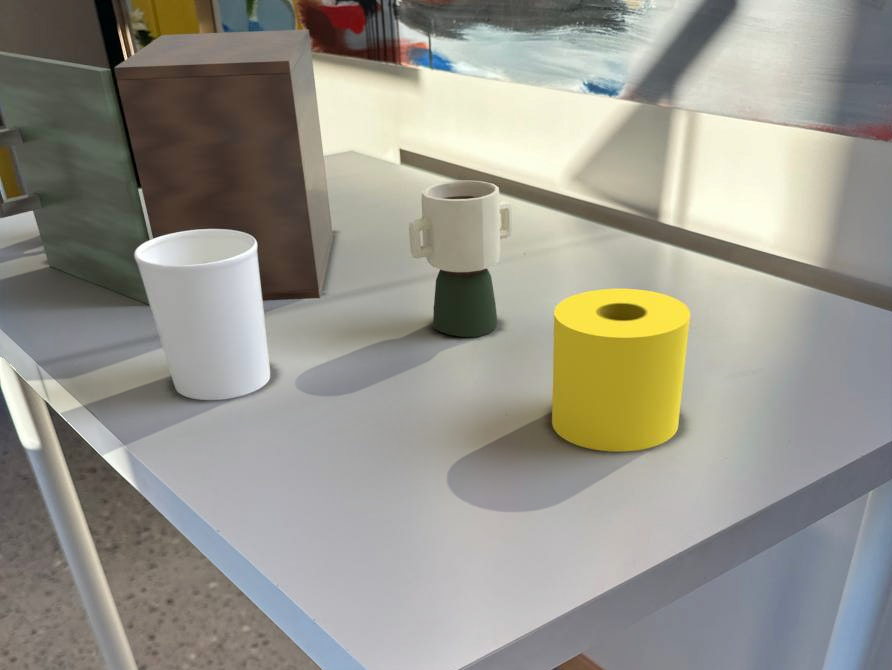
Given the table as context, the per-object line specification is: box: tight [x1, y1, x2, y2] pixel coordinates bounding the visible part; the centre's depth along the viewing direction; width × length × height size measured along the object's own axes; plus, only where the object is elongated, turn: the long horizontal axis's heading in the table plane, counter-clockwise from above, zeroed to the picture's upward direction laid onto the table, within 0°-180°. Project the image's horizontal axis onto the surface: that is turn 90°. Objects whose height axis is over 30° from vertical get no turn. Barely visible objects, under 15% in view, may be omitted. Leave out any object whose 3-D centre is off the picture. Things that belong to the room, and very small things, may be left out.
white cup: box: [134, 229, 271, 401], centre depth 82 cm, size 10×10×12 cm
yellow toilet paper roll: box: [551, 288, 691, 453], centre depth 75 cm, size 10×10×9 cm
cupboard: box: [113, 28, 334, 302], centre depth 104 cm, size 16×22×22 cm
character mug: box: [408, 179, 513, 338], centre depth 90 cm, size 11×7×13 cm, turn 123°
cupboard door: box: [0, 50, 151, 306], centre depth 100 cm, size 6×22×22 cm, turn 48°
